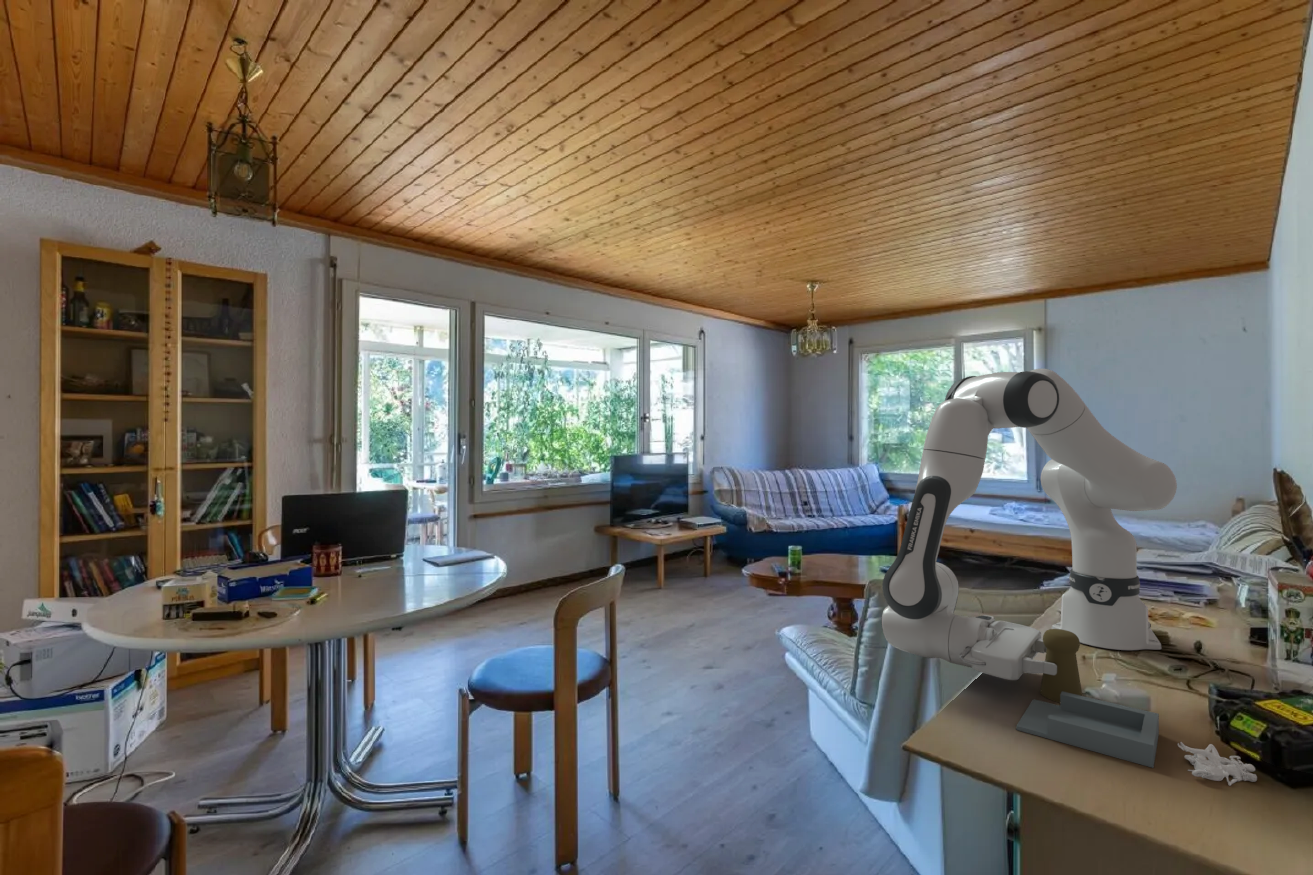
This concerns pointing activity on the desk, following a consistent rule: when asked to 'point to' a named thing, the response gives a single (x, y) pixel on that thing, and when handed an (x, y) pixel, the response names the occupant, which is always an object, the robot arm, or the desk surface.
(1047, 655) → the cork
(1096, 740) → the tray
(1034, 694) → the desk surface
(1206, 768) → the figurine
